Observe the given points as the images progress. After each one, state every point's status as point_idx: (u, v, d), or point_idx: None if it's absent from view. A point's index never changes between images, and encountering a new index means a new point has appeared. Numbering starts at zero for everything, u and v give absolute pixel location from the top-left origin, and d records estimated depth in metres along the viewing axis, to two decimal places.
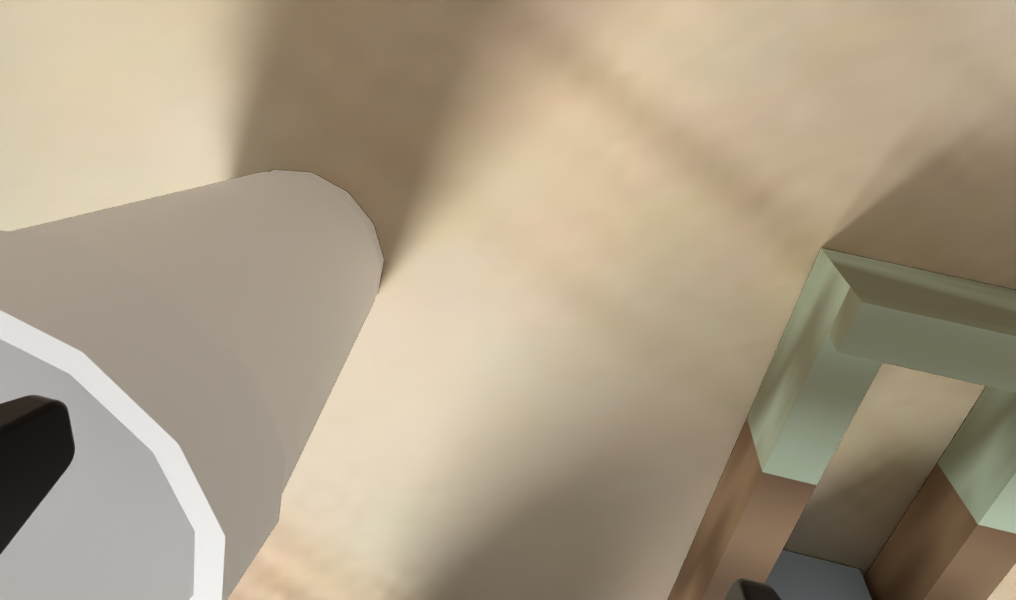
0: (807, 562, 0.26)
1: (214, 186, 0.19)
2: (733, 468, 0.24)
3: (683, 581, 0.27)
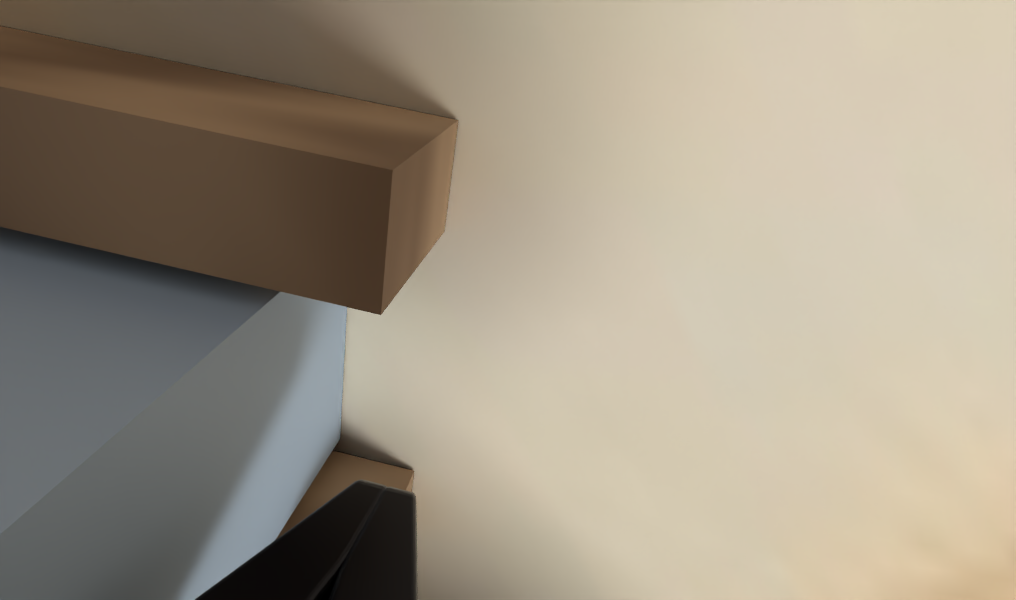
0: None
1: None
2: None
3: None
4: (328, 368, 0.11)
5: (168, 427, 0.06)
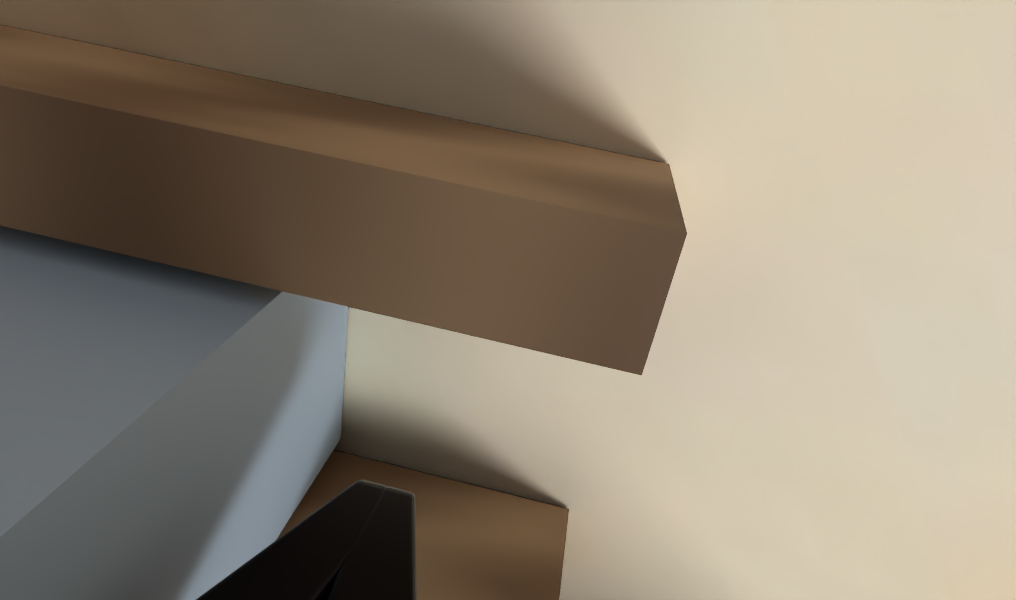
0: None
1: None
2: None
3: None
4: (329, 368, 0.11)
5: (171, 426, 0.06)
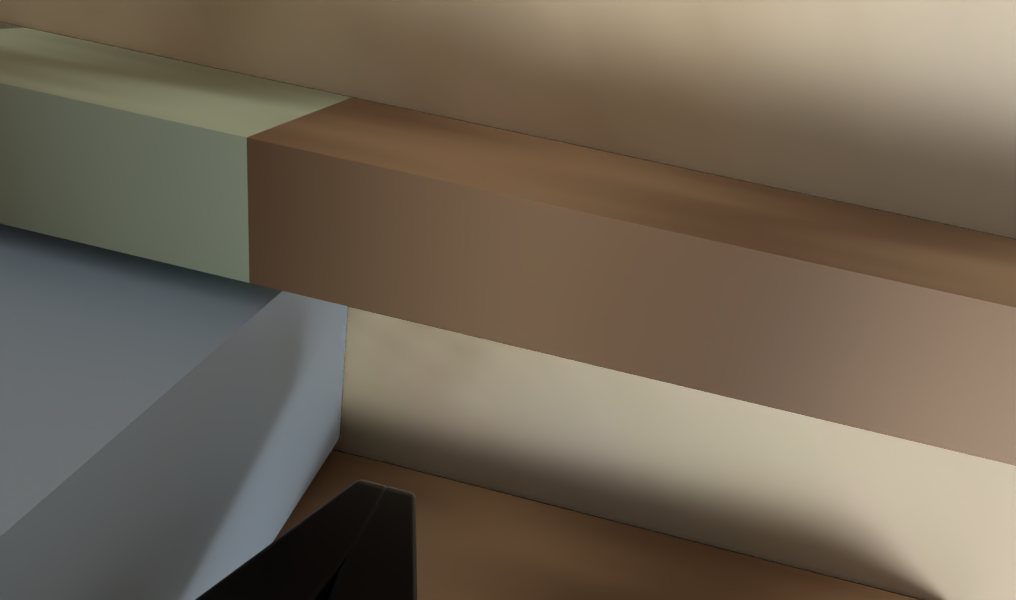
0: None
1: None
2: None
3: None
4: (328, 367, 0.11)
5: (171, 426, 0.06)
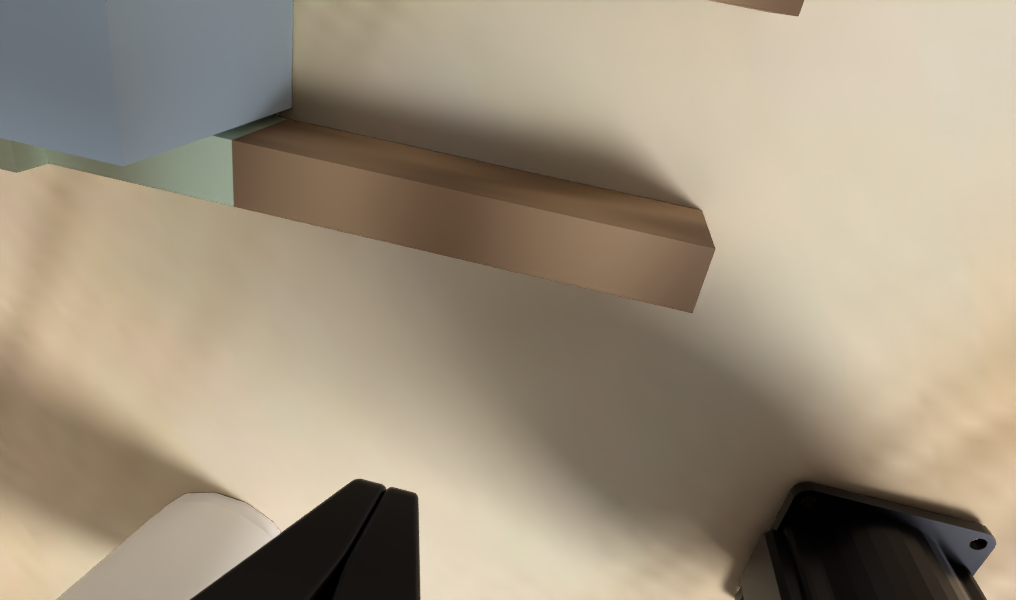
0: None
1: None
2: None
3: None
4: (280, 30, 0.17)
5: None
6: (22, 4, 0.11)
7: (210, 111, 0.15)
